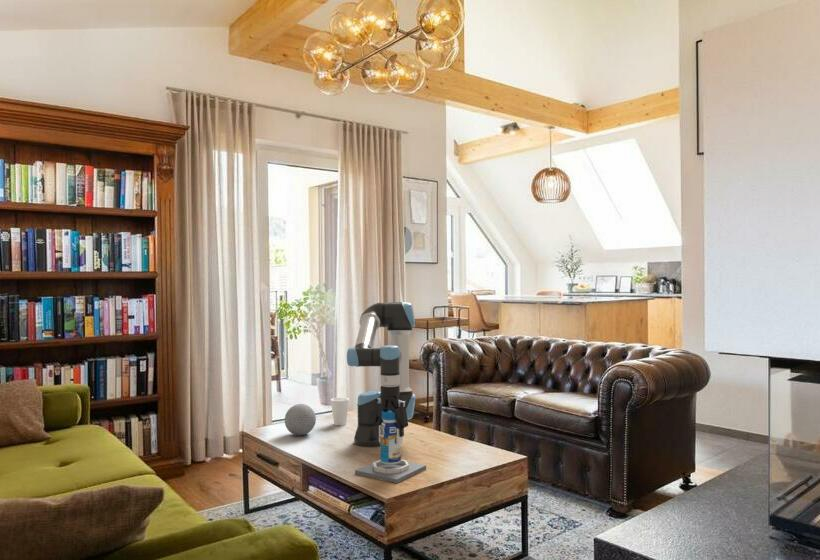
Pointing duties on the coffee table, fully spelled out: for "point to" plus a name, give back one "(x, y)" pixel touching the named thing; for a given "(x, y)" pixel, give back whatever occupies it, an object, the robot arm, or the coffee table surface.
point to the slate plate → (393, 475)
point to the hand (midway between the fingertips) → (390, 443)
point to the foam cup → (340, 410)
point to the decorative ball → (300, 419)
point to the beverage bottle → (389, 439)
